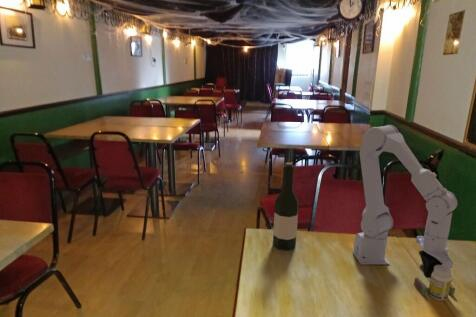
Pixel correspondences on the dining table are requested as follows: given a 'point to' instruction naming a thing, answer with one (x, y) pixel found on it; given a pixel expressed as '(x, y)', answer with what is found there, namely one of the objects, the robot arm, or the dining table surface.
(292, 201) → the wine bottle
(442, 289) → the supplement bottle
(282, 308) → the dining table surface
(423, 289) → the channel
